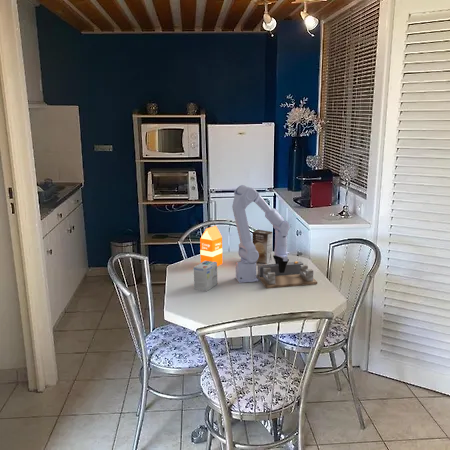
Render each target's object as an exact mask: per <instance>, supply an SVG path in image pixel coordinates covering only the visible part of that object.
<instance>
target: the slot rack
mask: <svg viewBox="0 0 450 450" xmlns="http://www.w3.org/2000/svg"><path fill="white" fill-rule="evenodd" d="M308 268H309V266H308V265H307V264H303V265H300V274H290V275H280V276H275V273H274V272H271V268H270V267H269V268H263V277H259V276H258V277H259V278H258V280H259V281H260V282H261V283H262V285H263V286H264V287H265V288H266V289H273V288H285V287H296V286H297V287H298V286H308V285H318V280H316V279H315V278H314V269H311V268H310V269H308Z"/></svg>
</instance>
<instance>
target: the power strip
mask: <svg viewBox="0 0 450 450" xmlns="http://www.w3.org/2000/svg"><path fill="white" fill-rule="evenodd" d="M300 265H304V263H303V262H302V261H290V262H289V261H288V263H287V265H286V268H285V272H284V273H280V272H279V265H278V264H276V263H271V264H269V263H267V264H260V265H257V276H258V277H263V268H269V267H270V268H271V272H274V273H275V276H283V275H295V274H300Z"/></svg>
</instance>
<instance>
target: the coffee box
mask: <svg viewBox="0 0 450 450" xmlns="http://www.w3.org/2000/svg"><path fill="white" fill-rule="evenodd" d="M252 242H253V244H254V245H255V248H256V250H257V251H258V253H259V258H258V260H257V261H256V263H260V264H264V265H267V264H269V263H271V262H273V231H269V230H263V229H256V230H254V231H253V232H252Z"/></svg>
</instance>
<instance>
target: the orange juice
mask: <svg viewBox="0 0 450 450" xmlns="http://www.w3.org/2000/svg"><path fill="white" fill-rule="evenodd" d="M199 242H200V243H199V244H200V245H199V247H200V250H199V252H200V254H199V255H200V263H202V262H203V261H213V262H217V267H219V266H221V265H223V236H222V234H221V232H220V230H219V228H218V227H217V225H214V226H210V227H207V228H205V230H204V232H203V233H202V235H201V237H200V238H199Z"/></svg>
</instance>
